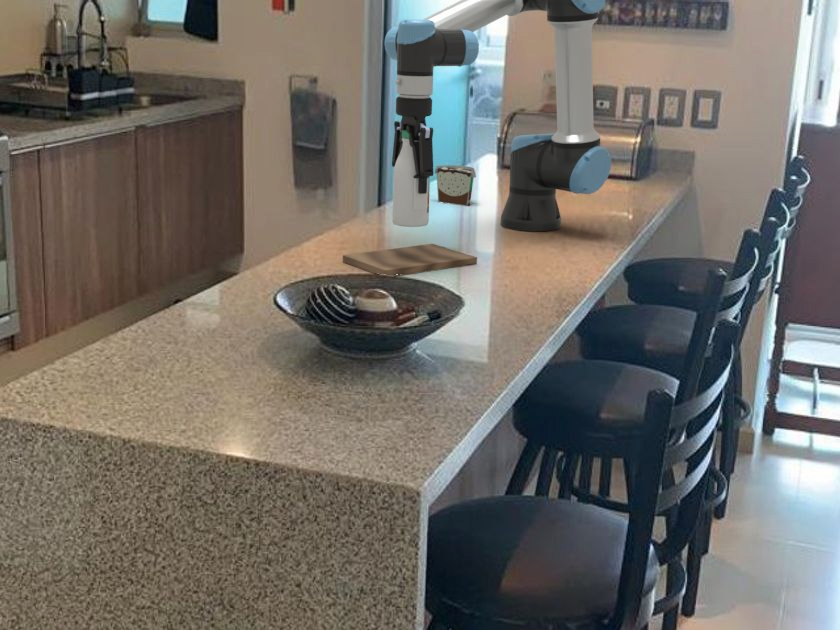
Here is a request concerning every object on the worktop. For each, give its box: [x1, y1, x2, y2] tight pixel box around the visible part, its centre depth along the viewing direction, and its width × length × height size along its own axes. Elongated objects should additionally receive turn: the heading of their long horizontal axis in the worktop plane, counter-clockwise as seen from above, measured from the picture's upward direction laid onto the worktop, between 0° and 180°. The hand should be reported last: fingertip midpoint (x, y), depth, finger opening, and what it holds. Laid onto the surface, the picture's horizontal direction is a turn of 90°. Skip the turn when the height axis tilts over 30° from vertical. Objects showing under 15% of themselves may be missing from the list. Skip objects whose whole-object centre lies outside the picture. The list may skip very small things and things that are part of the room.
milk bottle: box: [391, 130, 431, 228], centre depth 245 cm, size 8×8×20 cm
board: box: [342, 243, 478, 276], centre depth 250 cm, size 24×16×2 cm, turn 126°
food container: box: [434, 164, 477, 207], centre depth 321 cm, size 12×6×10 cm, turn 58°
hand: (411, 205), depth 246 cm, fingers closed on milk bottle, 8 cm apart
